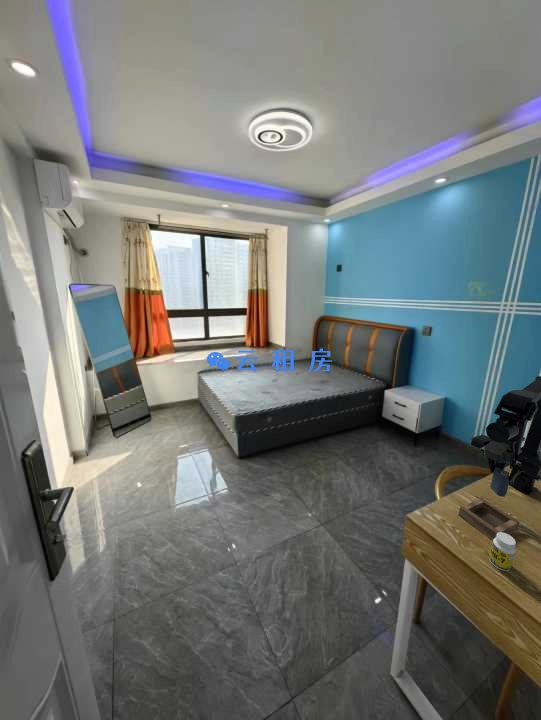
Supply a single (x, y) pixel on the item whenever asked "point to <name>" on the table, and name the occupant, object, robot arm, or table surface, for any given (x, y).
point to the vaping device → (500, 479)
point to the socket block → (488, 518)
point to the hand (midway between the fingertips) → (500, 476)
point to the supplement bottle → (502, 551)
